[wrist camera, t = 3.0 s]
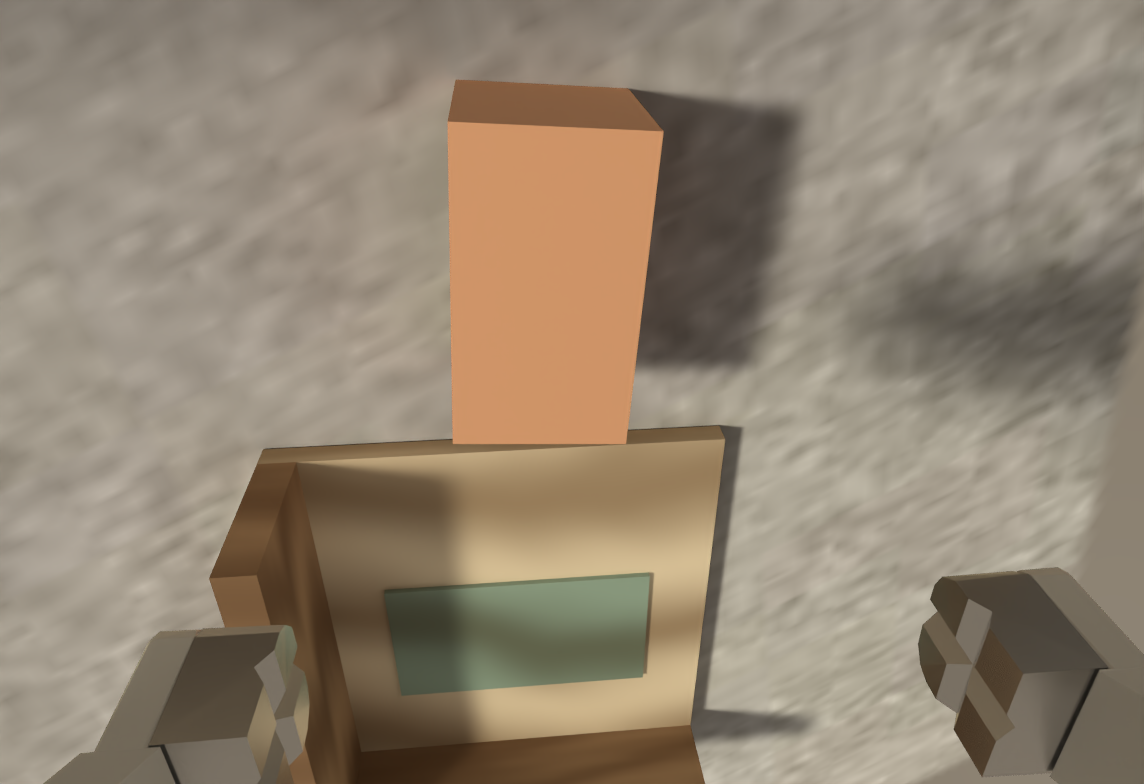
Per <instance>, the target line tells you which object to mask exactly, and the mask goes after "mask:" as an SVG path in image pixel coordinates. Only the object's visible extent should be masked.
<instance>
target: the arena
mask: <svg viewBox="0 0 1144 784" xmlns="http://www.w3.org/2000/svg"><path fill="white" fill-rule="evenodd" d="M724 445H725V438H724V435H723V433H722V431H721V429H720V427H719V426H705V427H685V428H666V429H647V430H628V431H627V440H626V444H453V440H435V441H416V442H396V443H377V444H358V445H339V446H319V447H300V448H281V449H263V451H262V454H261V456H260V458H259V461H258V463H257V466H256V468H255V470H254V473H253V475H252V477H251V480H250V482H249V485H248V487H247V489H246V492H245V494H244V497H243V499H242V501H241V504H240V506H239V508H238V511H237V513H236V516H235V518H234V520H233V523H232V525H231V528H230V530H229V532H228V535H227V537H226V539H225V542H224V544H223V547H222V549H221V551H220V554H219V556H218V559H217V561H216V563H215V566H214V568H213V570H212V573H211V575H210V578H209V579H210V582H211V586H212V589H213V592H214V595H215V598H216V601H217V604H218V607H219V610H220V613H221V616H222V619H223V622H224V625H225V628H227V627H248V626H269V625H288V626H291V627H292V630H293V633H294V636H295V639H296V643H297V646H298V647H297V650H296V654H295V658H294V662H293V664H294V665H296V666H297V667H298V668H300V669H301V670H303V671H304V672H305V677H306V681H307V685H308V693H309V718H308V730H307V735H306V739H305V744H304V749H303V752H302V753H301V754H300V755H299V756H298V757H297V758H296V759H295V760H294V761H293V762H292V763H291V764H290V765H289V767H290V771H291V774H292V778H293V781H294V784H705V782H704V778H703V774H702V770H701V766H700V762H699V758H698V754H697V750H696V746H695V742H694V738H693V734H692V730H691V726H690V723H691V715H692V707H693V699H694V691H695V683H696V674H697V666H698V658H699V650H700V642H701V633H702V625H703V617H704V609H705V601H706V592H707V584H708V576H709V568H710V560H711V551H712V543H713V535H714V527H715V519H716V510H717V502H718V494H719V486H720V478H721V470H722V461H723V453H724Z"/></svg>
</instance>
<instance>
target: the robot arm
mask: <svg viewBox="0 0 1144 784" xmlns="http://www.w3.org/2000/svg"><path fill="white" fill-rule="evenodd" d="M930 600H931V601H932V603H933V604H934V606H935V608H936V609H937V612H936V613H935V614H934V615H933V616H932V617H931V618H930V619H929V620H927V621H926V622H925V623H924V624H923V626H922V630H921V634H920V638H919V643H918V647H919V656H920V665H921V668H922V671H923V674H924V677H925V679H926V682H927V684H928V686H929V687H930V689H931V691H932V693H933V694H934V696H935V698H936V699H937V700H939V701H940V702H941V703H943V704H944V705H946V706H947V707H949V708H950V709H952V710H953V711H955V712H956V713H957V714H956V719H955V725H954V731H955V732H956V734H957V736H958V737H959V739H960V741H961V742H962V744H963V746H964V747H965V749H966V751H967V753H968V754H969V756H970V758H971V759H972V761H973V762H974V764H975V766H976V768H977V769H978V771H979V773H980V774H981V776H982V777H993V776H1009V775H1027V774H1042V773H1051V775H1050V777H1051V778H1052V779H1053V780H1055V781H1056V782H1057V783H1058V784H1144V654H1143V653H1142V652H1141V651H1140V650H1139V649H1138V648H1137V647H1136V646H1135V645H1134V643H1133V642H1132V641H1131V640H1130V639H1129V638H1128V637H1127V636H1126V635H1125V634H1124V633H1123V631H1122V630H1121V629H1120V628H1119V627H1118V626H1117V625H1116V624H1115V623H1114V622H1113V621H1112V619H1111V618H1110V617H1109V616H1108V615H1107V614H1106V613H1105V612H1104V611H1103V610H1102V609H1101V607H1100V606H1098V604H1097V603H1096V602H1095V601H1094V600H1093V599H1092V598H1091V597H1090V595H1089V594H1087V592H1086V591H1085V590H1084V589H1083V588H1082V587H1081V586H1080V585H1079V583H1078V582H1077V581H1076V580H1075V579H1074V578H1073V577H1072V576H1071V575H1070V574H1069V573H1067V572H1066V571H1064V570H1062V569H1060V568H1058V567H1055V568H1042V569H1030V570H1019V571H1017V572H1016V571H1006V572H994V573H982V574H970V575H958V576H945V577H942V578H941V579H940V580H939V581H938V582H937V583H936V584H935V586H934V589H933V592H932V595H931V598H930ZM297 647H298V646H297V643H296V639H295V636H294V633H293V630H292V627H291V626H288V625H269V626H248V627H227V628H206V629H202V630H181V631H160V632H159V633H158V634H157V635H156V636H154V637H153V638H152V639H151V640H150V641H149V642H148V644H147V646H146V648H145V650H144V652H143V654H142V656H141V658H140V660H139V662H138V664H137V667H136V669H135V671H134V673H133V675H132V677H131V679H130V681H129V683H128V685H127V687H126V689H125V691H124V693H123V695H122V697H121V699H120V701H119V703H118V705H117V707H116V709H115V711H114V713H113V715H112V717H111V719H110V721H109V723H108V725H107V727H106V729H105V731H104V733H103V735H102V737H101V739H100V741H99V743H98V745H97V747H96V749H95V751H94V752H89V753H80V754H79V755H78V756H77V757H75V758H74V759H73V760H72V761H70V762H69V763H68V764H67V765H66V766H64V767H63V768H62V769H61V770H59V771H58V772H57V773H56V774H55V775H53V776H52V777H51V778H50V779H48V780H47V781H46V782H45V783H44V784H294V781H293V778H292V774H291V771H290V767H289V765H290V764H291V763H292V762H293V761H294V760H295V759H296V758H297V757H298V756H299V755H300V754H301V753H302V752H303V749H304V744H305V739H306V735H307V730H308V718H309V693H308V685H307V681H306V677H305V672H304V671H303V670H301V669H300V668H298V667H297V666H296V665H294V664H293V662H294V658H295V654H296V650H297Z"/></svg>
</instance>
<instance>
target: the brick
mask: <svg viewBox="0 0 1144 784" xmlns="http://www.w3.org/2000/svg"><path fill="white" fill-rule="evenodd" d="M663 132H664V131H663V130H662V129H661V128H660V126H659V125H658V124H657V123H656V122H655V120H654V119H653V118H652V117H651V116H650V114H649V113H648V112H647V111H646V109H645V108H644V107H643V106H642V105H641V103H640V102H639V101H638V100H637V99H636V97H635V96H634V95H633V94H632V92H631V91H630V90H629V89H627V88H607V87H588V86H568V85H549V84H530V83H510V82H491V81H472V80H456V81H455V86H454V91H453V96H452V102H451V107H450V112H449V117H448V172H449V234H450V297H451V360H452V423H453V444H626V440H627V431H628V423H629V415H630V407H631V398H632V390H633V382H634V373H635V365H636V357H637V348H638V340H639V332H640V323H641V315H642V307H643V299H644V290H645V282H646V274H647V265H648V257H649V249H650V240H651V232H652V224H653V216H654V207H655V199H656V191H657V182H658V174H659V166H660V157H661V149H662V141H663Z"/></svg>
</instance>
